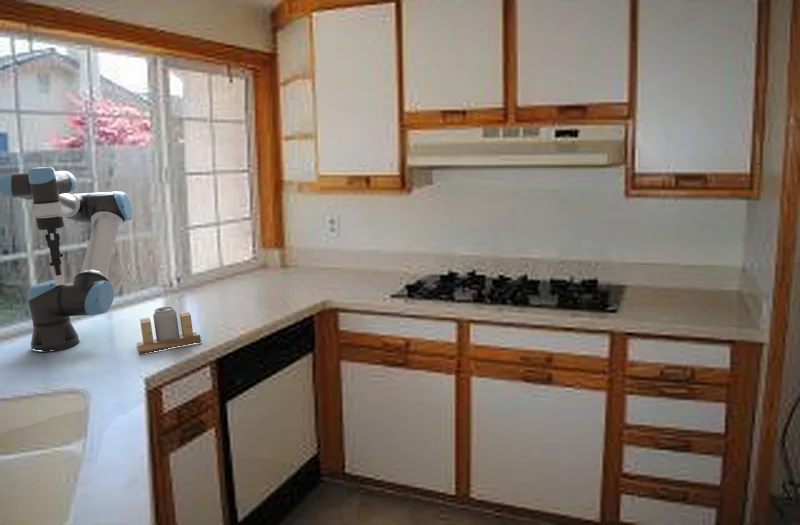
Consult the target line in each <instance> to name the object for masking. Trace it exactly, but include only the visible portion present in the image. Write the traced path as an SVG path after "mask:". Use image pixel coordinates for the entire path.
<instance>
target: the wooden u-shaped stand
mask: <svg viewBox="0 0 800 525" xmlns="http://www.w3.org/2000/svg"><path fill="white" fill-rule="evenodd" d="M179 319H180V327H181V334H179V337H180V338H177V339H171V340H166V341H160V342H157V339H156V338H155V339H154V336H153V335H154V334H153V329H152V321H151V318H150V317H145V318H139V321H140V328H141V337H142V341H140V342H136V346H137V351H138V355H139V356H143V355H142V354H144V355H146V354H145V353H149V352H154V351H159V350H164V349H168V348H172V347H177V346H183V345H188V344H193V343H200V342H201V343H202V339H201V337H202V336H201V334H197V332H194V331H193V323H192V316H191V313H190V311H189V310H187V311H181V312H179ZM149 354H150V353H149Z"/></svg>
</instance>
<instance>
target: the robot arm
mask: <svg viewBox="0 0 800 525" xmlns="http://www.w3.org/2000/svg"><path fill="white" fill-rule="evenodd" d="M27 172H28V173H27ZM27 172H26V173H10V174H5V175H4V174H3V175H1V176H0V194H1V196H3V197H5V198H12V199H14V198H19V199H23V200H26V201H28V202H32V203H33V206H32V207H31V210H32V211H34V215H35V217H36V218H35V219H36V220H35V221H36V228H37V229H38V231H45V230H47V231H46V232H47V233H46V234H45V235H44V236H45V241H46V244H47V248H49V253H50V260H51V262H50V263H49V266H50V267H51V268H52V273H53V279H52V280H48V281H43V282H40V283H36V284H34V285H31V286H30V287H28V290H27V301H28V305H29V309H30V315H31V320H32V325H33V329H32V330H33V331H32V336H31V341H30V346H31V347H30V348H31V350H32V349H35V350H42V351H50V350H58V351H62V350H66V349H68V348H71V347H74V346H76V345H77V344H79V342H80V338H79V335H78V333H77V331H76V329H75V327H74V325H73V323H72V322H71V318H70V317H79V316H80V317H81V316H96V315H102V314H105V313H107V312H108V311H109V310H110V309H111V307H112V304H113V302H114V301H113V300H114V297H115V296H114V287H113V285H112V284H111V282H110V279H108V273H109V270H110V269H109V268H110V264H111V259H112V256H113V252H114V247H115V243H116V239H117V235H118V231H120V230H122V229H123V228H124V224H125V222H129V221H131V220H132V217H133V210H132V209H133V208H132V203H131V200H130V199H129V198H130V197H129V196H128V195H127V193H125V192H124V191H115V190H113V191H106V192H86V193H73V192H74V190H75V189H76V186H77V180H76V178H75V176H74V174H73V173H71V172H70V171H67V170H57V171H56V170H55V168H54V167H52V166H42V167H41V166H40V167H31V168H29V169H28V171H27ZM63 218H66V219H69V220H72V221H75V222H79V223H87V224H88V223H89V224H92V230H91V234H90V238H89V241H88V245H87V248H86V252H85V256H84V259H83V263H82V268H81V270H80V272H78V273H77V274H75V276H74V278H73V282H71V283H66V282H65V272H64V265H63V260H62V258H63V257H64V253H61V251H60V247H61V242H60V239H61V238H60V233H59V232H57V231H58V230H57V229H62V228H63V227H64V226H65V224H64V223H65V222H64V219H63ZM61 349H62V350H61Z"/></svg>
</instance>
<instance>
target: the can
mask: <svg viewBox="0 0 800 525" xmlns="http://www.w3.org/2000/svg"><path fill="white" fill-rule="evenodd" d="M177 315H178V314H177V311H176V310H175V307H173V306H163V307H157V308H155V309H154V313H153V314H152V317H153V324H154V330H155V331H154V332H155V336H156V337H155V339H157V342H160V341H166V340H171V339H177V338H180V337H179V335H180V330H179V325H178V324H179V323H178V316H177Z"/></svg>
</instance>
